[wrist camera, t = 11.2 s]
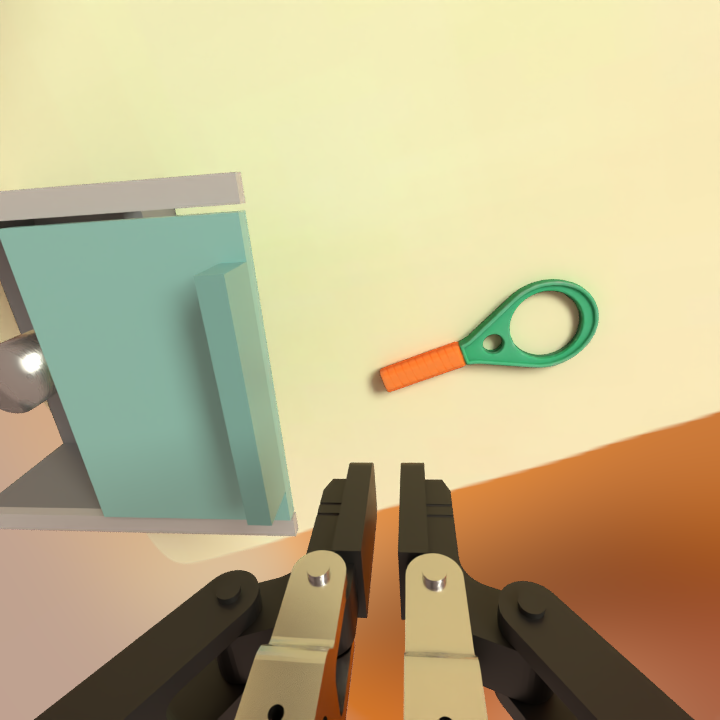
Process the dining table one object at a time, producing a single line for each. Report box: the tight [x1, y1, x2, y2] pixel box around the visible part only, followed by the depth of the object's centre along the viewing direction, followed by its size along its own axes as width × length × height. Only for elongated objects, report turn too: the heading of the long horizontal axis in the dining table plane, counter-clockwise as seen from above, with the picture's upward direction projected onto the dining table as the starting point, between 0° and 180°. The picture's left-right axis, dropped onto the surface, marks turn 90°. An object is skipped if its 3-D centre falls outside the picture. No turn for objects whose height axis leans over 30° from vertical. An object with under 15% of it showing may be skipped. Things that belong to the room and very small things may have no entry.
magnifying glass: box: [380, 279, 599, 392], centre depth 31 cm, size 15×6×2 cm, turn 113°
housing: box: [0, 172, 298, 536], centre depth 28 cm, size 19×20×12 cm
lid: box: [0, 211, 294, 526], centre depth 21 cm, size 16×11×3 cm
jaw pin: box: [0, 329, 58, 413], centre depth 29 cm, size 4×4×9 cm
